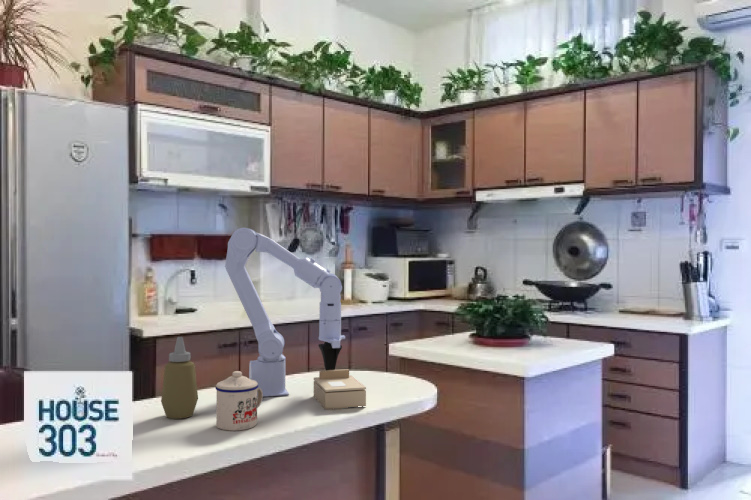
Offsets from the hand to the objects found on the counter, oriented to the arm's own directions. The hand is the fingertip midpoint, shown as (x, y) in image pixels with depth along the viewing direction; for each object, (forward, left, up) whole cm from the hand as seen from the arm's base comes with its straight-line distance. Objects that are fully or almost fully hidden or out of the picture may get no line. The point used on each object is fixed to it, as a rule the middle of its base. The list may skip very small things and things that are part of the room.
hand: (330, 371), depth 168 cm
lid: (0, -10, -1) cm, 10 cm away
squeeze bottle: (-38, -13, -6) cm, 41 cm away
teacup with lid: (-25, -23, -6) cm, 34 cm away
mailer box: (0, -10, -6) cm, 11 cm away
